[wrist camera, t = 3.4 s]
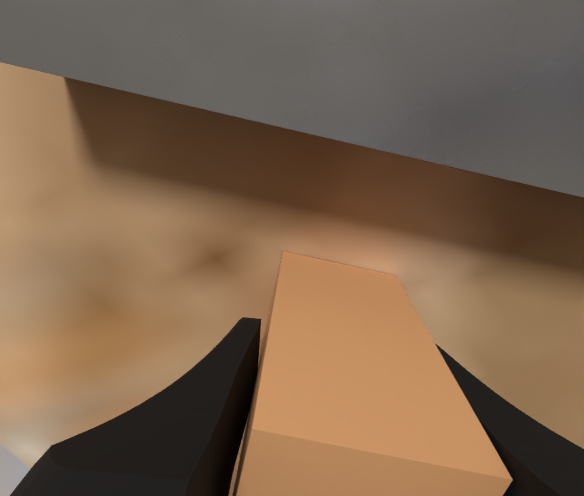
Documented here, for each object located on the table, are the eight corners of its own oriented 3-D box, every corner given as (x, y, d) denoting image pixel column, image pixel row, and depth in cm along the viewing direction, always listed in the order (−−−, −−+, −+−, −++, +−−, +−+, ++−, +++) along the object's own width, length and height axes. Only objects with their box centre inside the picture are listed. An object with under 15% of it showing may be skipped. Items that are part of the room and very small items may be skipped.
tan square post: (396, 275, 13) (512, 479, 6) (363, 367, 15) (422, 623, 7) (282, 251, 13) (251, 429, 6) (261, 347, 15) (214, 586, 7)
